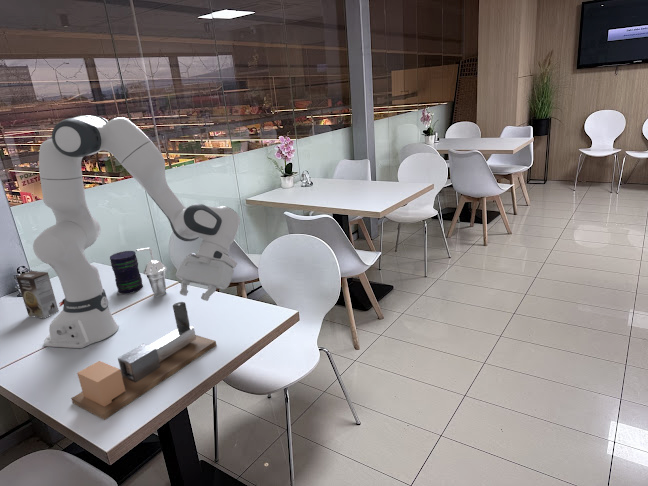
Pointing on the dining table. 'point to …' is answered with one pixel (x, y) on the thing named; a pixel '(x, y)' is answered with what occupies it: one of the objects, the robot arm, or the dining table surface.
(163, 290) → the cup with straw
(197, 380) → the dining table surface
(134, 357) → the metal sleeve
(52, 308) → the coffee box
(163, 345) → the grey piece
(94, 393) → the socket block
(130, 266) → the storage jar
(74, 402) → the walnut board
